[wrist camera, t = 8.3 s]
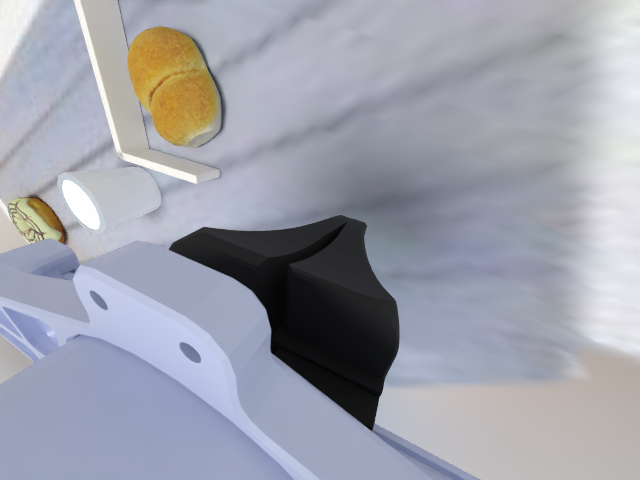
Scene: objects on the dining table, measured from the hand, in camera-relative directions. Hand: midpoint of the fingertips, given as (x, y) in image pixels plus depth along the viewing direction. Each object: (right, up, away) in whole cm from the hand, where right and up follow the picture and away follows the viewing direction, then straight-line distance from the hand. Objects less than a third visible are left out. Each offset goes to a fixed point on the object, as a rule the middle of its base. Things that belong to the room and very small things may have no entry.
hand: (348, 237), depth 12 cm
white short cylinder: (-24, +7, +20) cm, 32 cm away
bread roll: (-14, +14, +11) cm, 22 cm away
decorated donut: (-54, +4, +36) cm, 65 cm away
